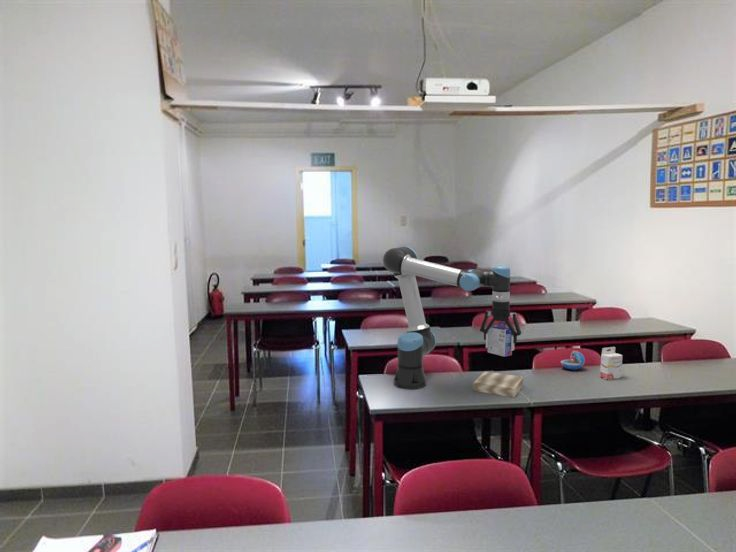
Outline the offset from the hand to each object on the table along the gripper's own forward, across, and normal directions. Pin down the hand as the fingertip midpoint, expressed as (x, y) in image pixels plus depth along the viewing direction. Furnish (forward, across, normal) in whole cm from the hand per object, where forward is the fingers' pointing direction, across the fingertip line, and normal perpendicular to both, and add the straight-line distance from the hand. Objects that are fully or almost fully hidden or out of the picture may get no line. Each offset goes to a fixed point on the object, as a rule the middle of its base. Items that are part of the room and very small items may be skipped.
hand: (499, 348), depth 221 cm
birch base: (+19, 0, 0) cm, 19 cm away
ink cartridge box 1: (+3, 0, 0) cm, 3 cm away
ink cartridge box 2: (+19, +44, +40) cm, 62 cm away
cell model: (+19, +26, +46) cm, 56 cm away
